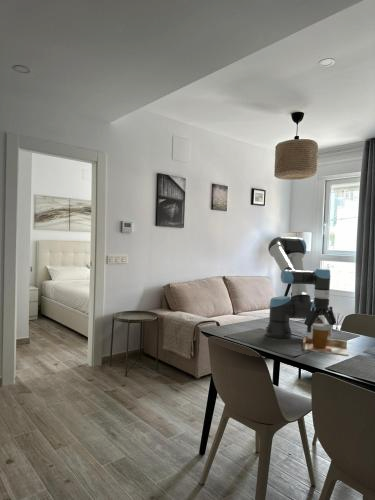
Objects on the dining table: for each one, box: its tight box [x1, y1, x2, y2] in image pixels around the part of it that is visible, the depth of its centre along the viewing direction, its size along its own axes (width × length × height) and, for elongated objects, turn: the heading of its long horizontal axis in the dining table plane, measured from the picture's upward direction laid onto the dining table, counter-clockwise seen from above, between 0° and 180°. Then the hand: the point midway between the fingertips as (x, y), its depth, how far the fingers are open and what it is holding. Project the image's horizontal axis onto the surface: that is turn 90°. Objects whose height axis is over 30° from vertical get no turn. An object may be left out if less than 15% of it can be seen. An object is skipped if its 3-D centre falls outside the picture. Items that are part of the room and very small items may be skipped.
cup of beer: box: [312, 322, 330, 349], centre depth 189 cm, size 10×10×12 cm
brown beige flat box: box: [302, 335, 349, 357], centre depth 189 cm, size 22×15×4 cm
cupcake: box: [314, 316, 324, 324], centre depth 229 cm, size 10×10×10 cm
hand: (319, 337), depth 189 cm, fingers open, 13 cm apart
